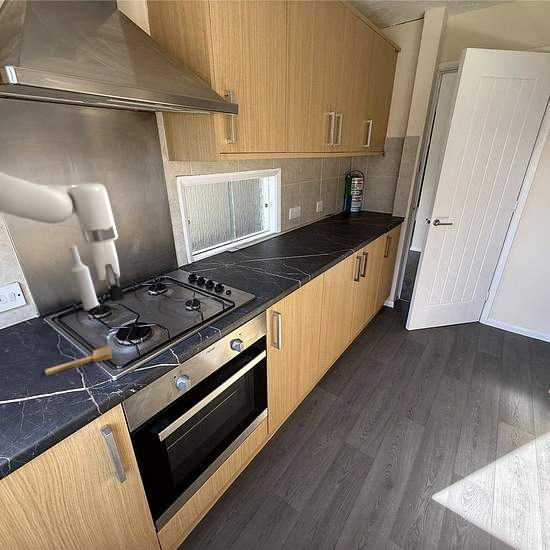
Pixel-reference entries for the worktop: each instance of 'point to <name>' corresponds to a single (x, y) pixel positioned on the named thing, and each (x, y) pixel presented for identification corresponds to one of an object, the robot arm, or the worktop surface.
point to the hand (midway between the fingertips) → (117, 297)
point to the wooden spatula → (83, 360)
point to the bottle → (83, 281)
